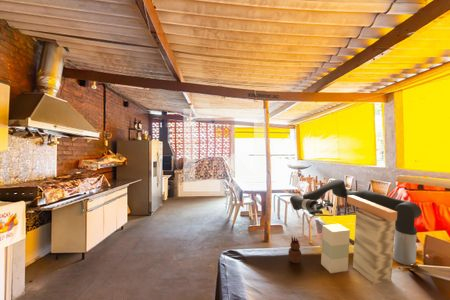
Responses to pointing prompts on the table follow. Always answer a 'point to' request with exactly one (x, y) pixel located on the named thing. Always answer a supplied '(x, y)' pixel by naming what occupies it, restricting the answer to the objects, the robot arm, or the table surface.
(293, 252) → the wooden figurine
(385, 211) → the beam
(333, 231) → the tower
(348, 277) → the table surface
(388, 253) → the stand
